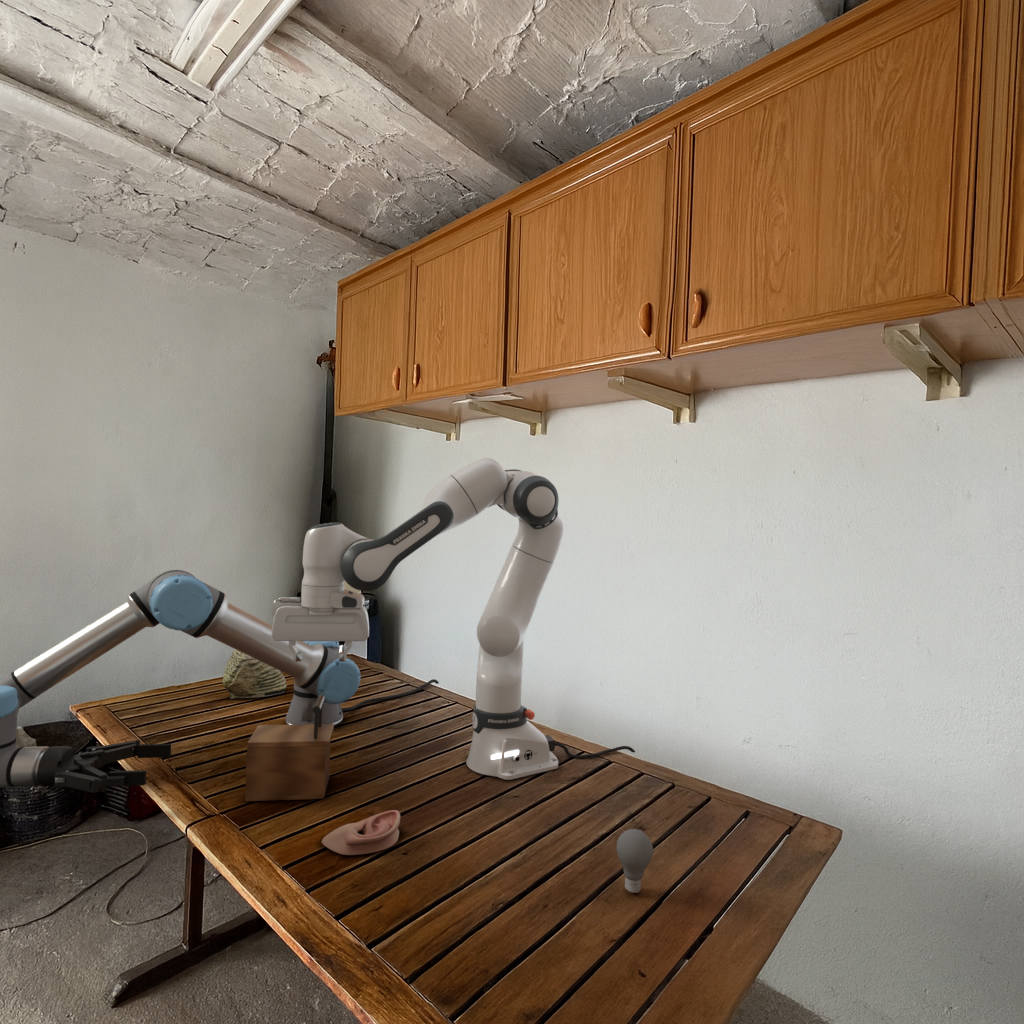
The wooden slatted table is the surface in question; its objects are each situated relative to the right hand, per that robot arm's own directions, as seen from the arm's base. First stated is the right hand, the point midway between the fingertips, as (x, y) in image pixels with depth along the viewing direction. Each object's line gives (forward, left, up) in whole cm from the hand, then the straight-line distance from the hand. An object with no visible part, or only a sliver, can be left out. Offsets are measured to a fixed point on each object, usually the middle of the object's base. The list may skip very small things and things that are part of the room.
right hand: (320, 661), depth 137 cm
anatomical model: (-6, +24, -28) cm, 37 cm away
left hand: (+31, -7, -21) cm, 38 cm away
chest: (+5, -1, -28) cm, 28 cm away
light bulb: (-47, +53, -28) cm, 76 cm away
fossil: (+13, -70, -28) cm, 77 cm away
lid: (+5, -1, -17) cm, 17 cm away
